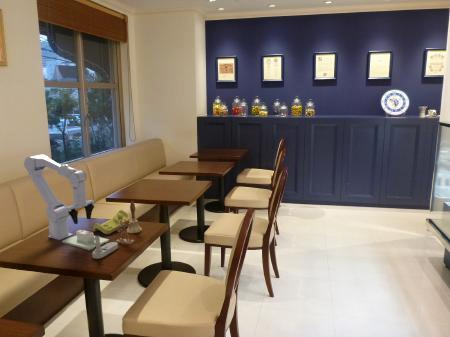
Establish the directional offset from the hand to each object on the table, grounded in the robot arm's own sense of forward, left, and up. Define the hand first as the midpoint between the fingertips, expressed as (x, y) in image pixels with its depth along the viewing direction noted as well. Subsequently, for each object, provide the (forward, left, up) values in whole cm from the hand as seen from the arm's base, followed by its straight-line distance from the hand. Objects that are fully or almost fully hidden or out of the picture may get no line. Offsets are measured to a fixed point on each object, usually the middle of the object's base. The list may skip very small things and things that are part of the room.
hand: (82, 221), depth 188 cm
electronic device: (+23, -6, -10) cm, 26 cm away
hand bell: (+14, +21, -10) cm, 27 cm away
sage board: (+4, -2, -9) cm, 11 cm away
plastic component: (+1, +18, -10) cm, 20 cm away
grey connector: (+5, -2, -8) cm, 10 cm away
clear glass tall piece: (+22, +7, -10) cm, 25 cm away
